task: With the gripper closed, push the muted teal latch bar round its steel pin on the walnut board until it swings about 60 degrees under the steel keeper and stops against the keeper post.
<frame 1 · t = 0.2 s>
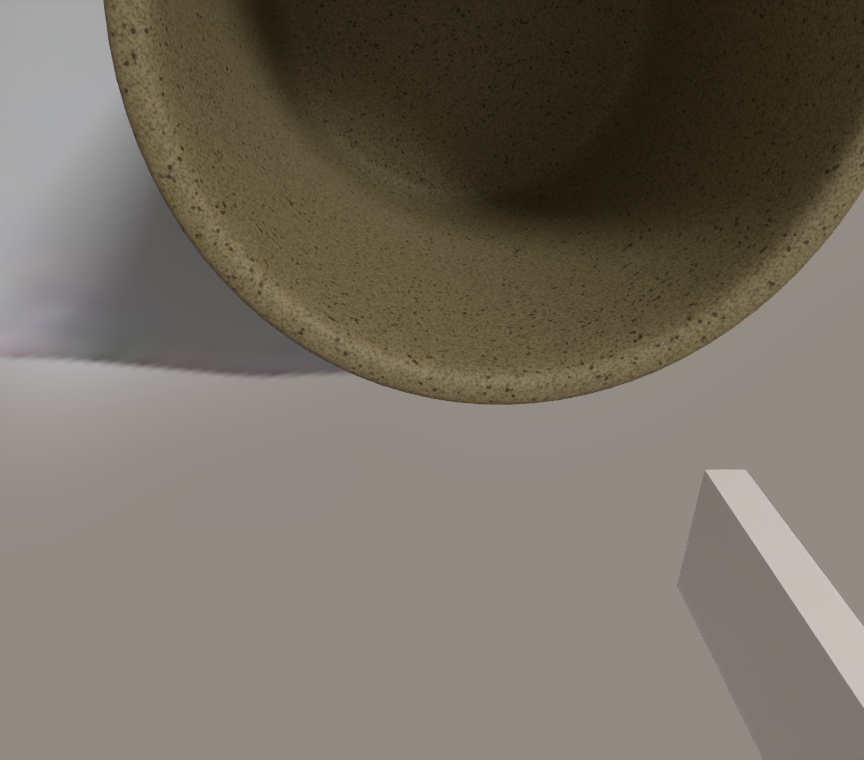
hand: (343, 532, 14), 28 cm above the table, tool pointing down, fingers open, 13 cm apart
planter: (453, 13, 35), on the table
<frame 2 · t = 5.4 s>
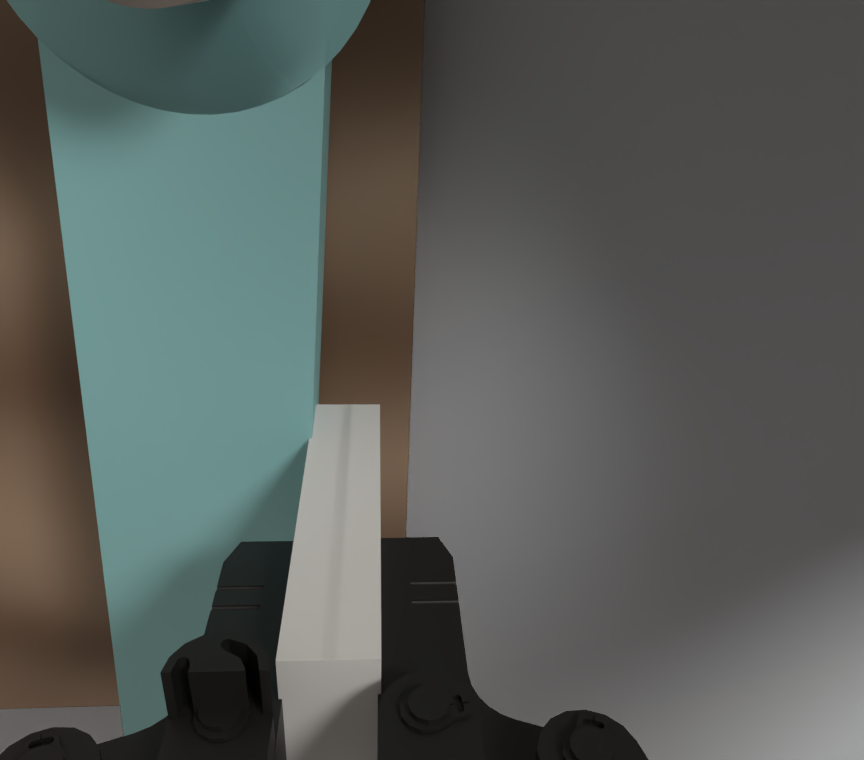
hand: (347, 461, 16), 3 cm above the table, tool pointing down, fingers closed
latch bar: (211, 341, 14), point 3 cm above the table, hinge at -3.4°, touching gripper
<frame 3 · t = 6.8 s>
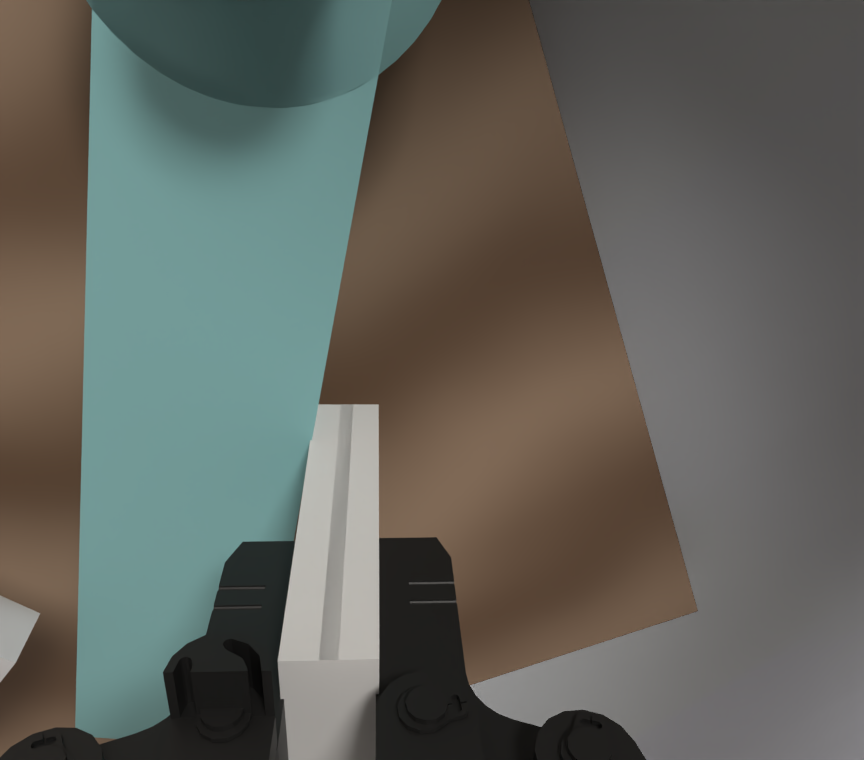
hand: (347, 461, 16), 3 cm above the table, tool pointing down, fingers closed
latch bar: (218, 331, 14), point 3 cm above the table, hinge at -33.3°, touching gripper
pivot board: (163, 393, 18), on the table
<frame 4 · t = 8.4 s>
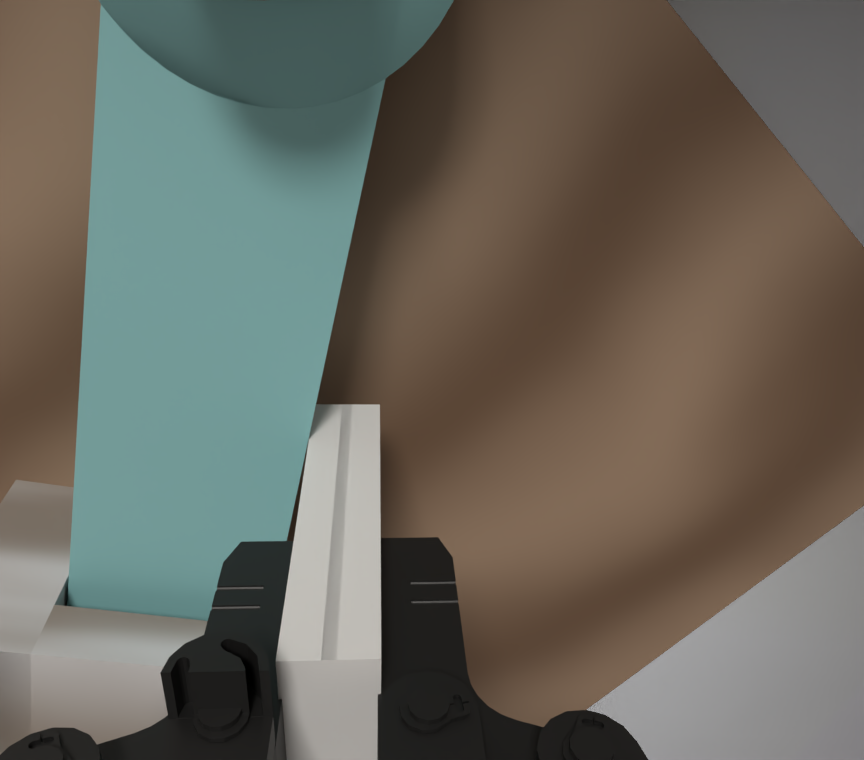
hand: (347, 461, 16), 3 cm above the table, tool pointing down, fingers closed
latch bar: (216, 329, 14), point 3 cm above the table, hinge at -61.1°, touching gripper, pivot board
pivot board: (371, 408, 19), on the table
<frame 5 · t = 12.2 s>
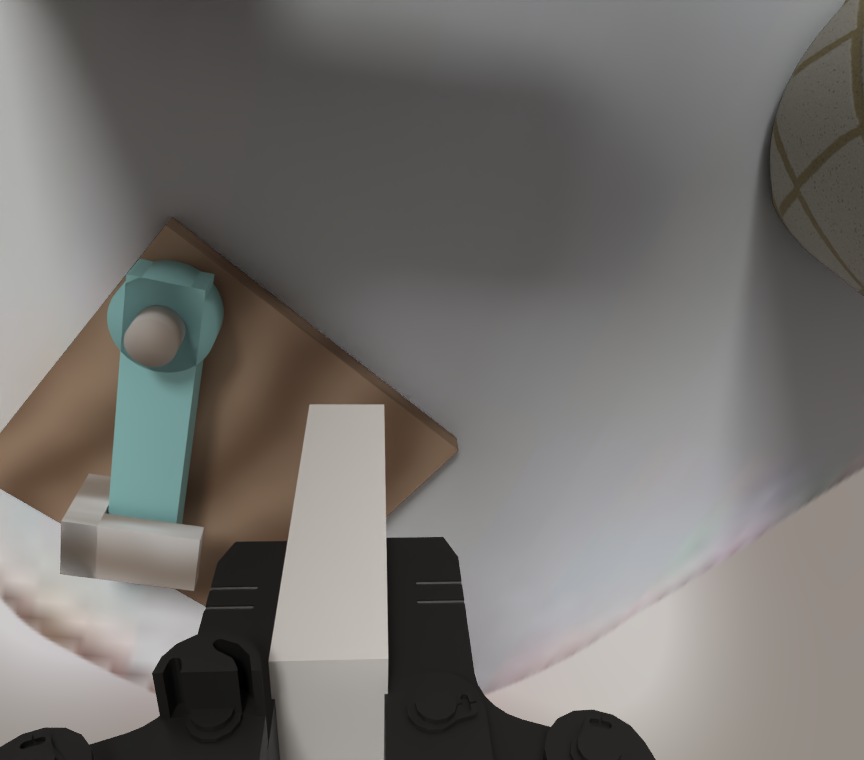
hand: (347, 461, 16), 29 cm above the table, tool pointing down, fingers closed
latch bar: (156, 426, 45), point 3 cm above the table, hinge at -61.0°, touching pivot board
pivot board: (222, 447, 50), on the table
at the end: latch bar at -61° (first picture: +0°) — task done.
